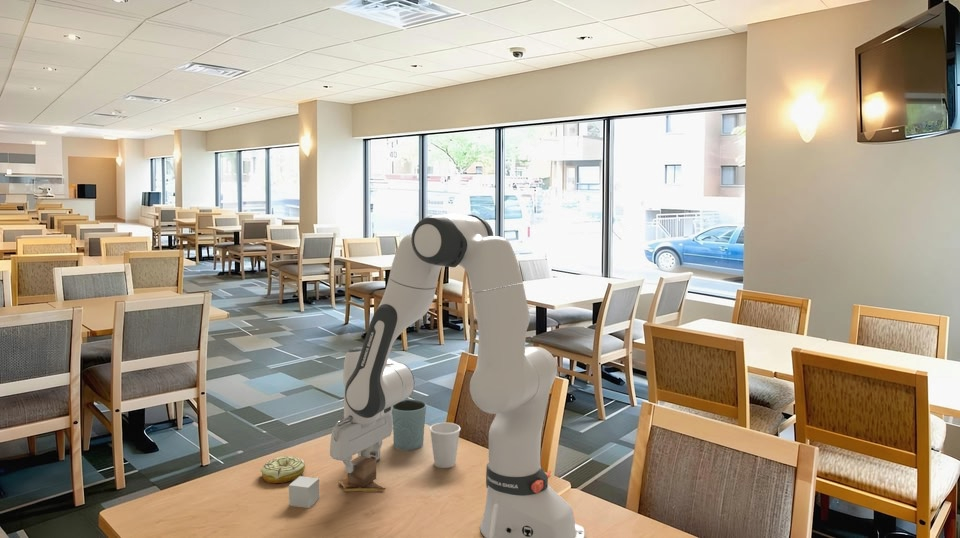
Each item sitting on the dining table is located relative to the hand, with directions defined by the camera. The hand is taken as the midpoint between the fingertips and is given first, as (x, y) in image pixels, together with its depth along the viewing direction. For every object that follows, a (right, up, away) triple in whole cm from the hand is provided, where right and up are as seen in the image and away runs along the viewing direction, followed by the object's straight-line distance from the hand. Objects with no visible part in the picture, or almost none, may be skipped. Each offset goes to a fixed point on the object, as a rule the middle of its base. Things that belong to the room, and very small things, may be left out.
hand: (362, 464), depth 159 cm
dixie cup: (+20, -4, +14) cm, 24 cm away
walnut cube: (0, -4, 0) cm, 4 cm away
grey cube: (-12, -6, -9) cm, 16 cm away
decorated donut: (-21, -5, +5) cm, 23 cm away
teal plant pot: (+9, -3, +27) cm, 28 cm away
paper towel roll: (-2, -4, +16) cm, 17 cm away
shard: (0, -6, +1) cm, 6 cm away
